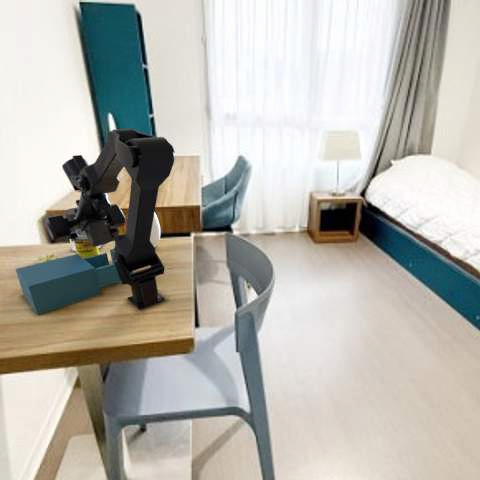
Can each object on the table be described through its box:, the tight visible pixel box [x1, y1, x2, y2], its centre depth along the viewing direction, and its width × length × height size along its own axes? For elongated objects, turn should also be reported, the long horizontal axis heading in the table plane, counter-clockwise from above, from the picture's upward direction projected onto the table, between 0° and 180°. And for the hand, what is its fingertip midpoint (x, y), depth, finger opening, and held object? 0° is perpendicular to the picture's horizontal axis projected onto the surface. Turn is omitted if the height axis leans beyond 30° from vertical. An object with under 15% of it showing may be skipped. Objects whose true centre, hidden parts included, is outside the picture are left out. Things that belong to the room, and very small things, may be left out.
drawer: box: [84, 248, 134, 289], centre depth 94 cm, size 17×10×5 cm, turn 134°
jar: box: [63, 206, 102, 252], centre depth 113 cm, size 9×8×12 cm
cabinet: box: [15, 253, 101, 316], centre depth 86 cm, size 14×12×7 cm
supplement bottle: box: [74, 229, 100, 259], centre depth 101 cm, size 6×6×10 cm
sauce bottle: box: [150, 212, 161, 248], centre depth 112 cm, size 8×8×18 cm
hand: (82, 237), depth 102 cm, fingers closed on supplement bottle, 5 cm apart
